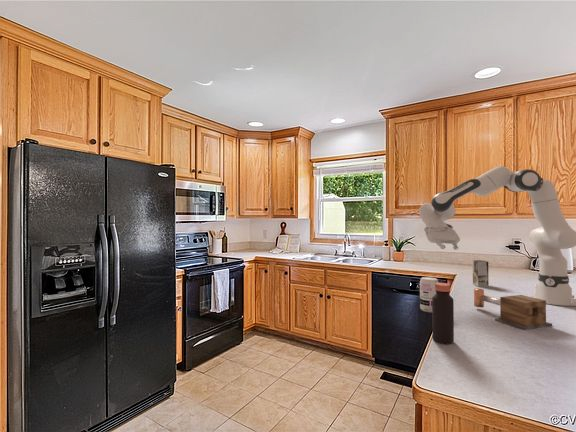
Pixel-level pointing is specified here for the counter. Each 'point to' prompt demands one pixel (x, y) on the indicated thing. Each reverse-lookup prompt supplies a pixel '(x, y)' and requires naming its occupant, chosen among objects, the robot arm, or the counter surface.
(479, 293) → the shaft
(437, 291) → the bottle
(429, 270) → the counter surface
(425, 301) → the supplement can
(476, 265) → the coffee box
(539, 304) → the block
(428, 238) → the robot arm
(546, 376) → the counter surface
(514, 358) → the counter surface
